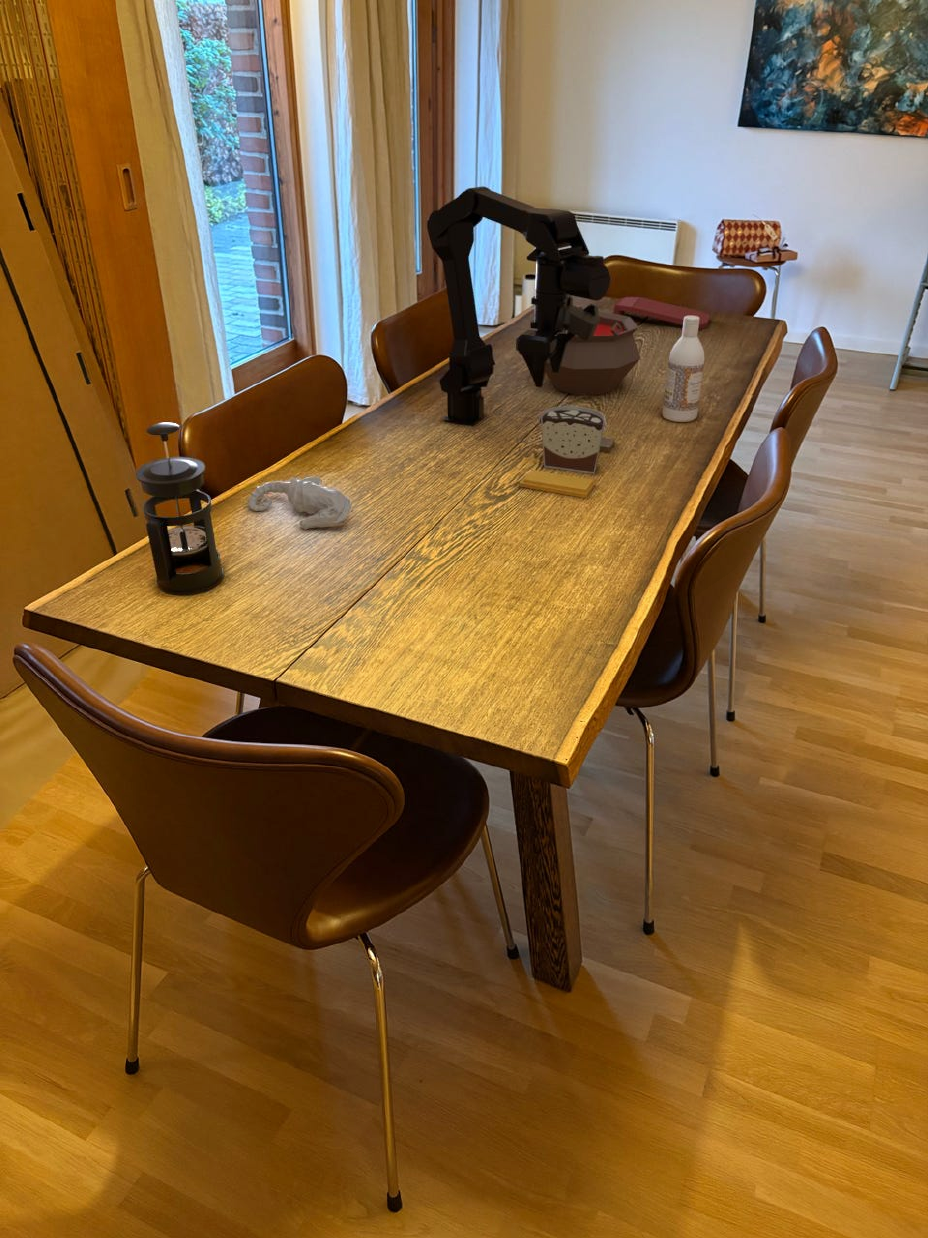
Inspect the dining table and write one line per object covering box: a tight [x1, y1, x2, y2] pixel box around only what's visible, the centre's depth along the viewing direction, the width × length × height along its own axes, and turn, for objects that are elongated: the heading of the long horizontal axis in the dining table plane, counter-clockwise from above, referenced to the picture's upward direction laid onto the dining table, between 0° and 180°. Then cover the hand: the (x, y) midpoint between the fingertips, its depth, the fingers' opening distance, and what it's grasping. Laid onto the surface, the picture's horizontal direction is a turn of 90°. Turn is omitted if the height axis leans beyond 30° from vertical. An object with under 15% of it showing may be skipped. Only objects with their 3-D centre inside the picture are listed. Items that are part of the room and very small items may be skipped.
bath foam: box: [661, 316, 705, 423], centre depth 182 cm, size 7×7×20 cm
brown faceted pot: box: [545, 310, 641, 396], centre depth 200 cm, size 24×24×16 cm
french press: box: [135, 422, 225, 596], centre depth 125 cm, size 12×9×23 cm
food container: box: [537, 405, 608, 475], centre depth 164 cm, size 12×6×10 cm, turn 70°
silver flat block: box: [599, 437, 616, 453], centre depth 174 cm, size 8×4×1 cm, turn 66°
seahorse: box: [247, 476, 353, 531], centre depth 148 cm, size 5×12×20 cm
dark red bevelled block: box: [612, 296, 711, 330], centre depth 250 cm, size 12×5×25 cm
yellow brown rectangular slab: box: [518, 469, 595, 499], centre depth 158 cm, size 12×5×1 cm, turn 67°
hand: (547, 379), depth 167 cm, fingers open, 9 cm apart
